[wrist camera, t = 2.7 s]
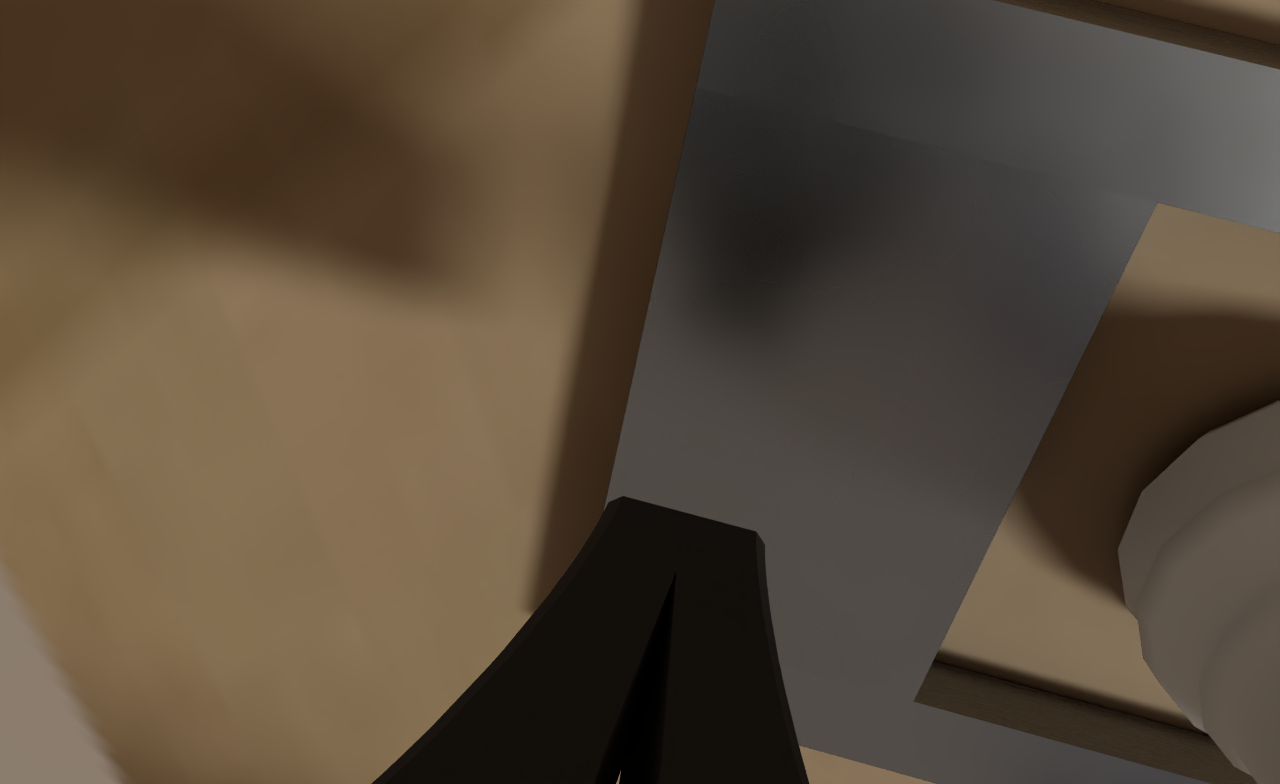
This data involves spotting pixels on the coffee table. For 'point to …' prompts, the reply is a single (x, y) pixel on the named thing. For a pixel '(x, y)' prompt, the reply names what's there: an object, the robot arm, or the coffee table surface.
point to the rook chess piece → (1215, 586)
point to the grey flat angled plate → (920, 331)
